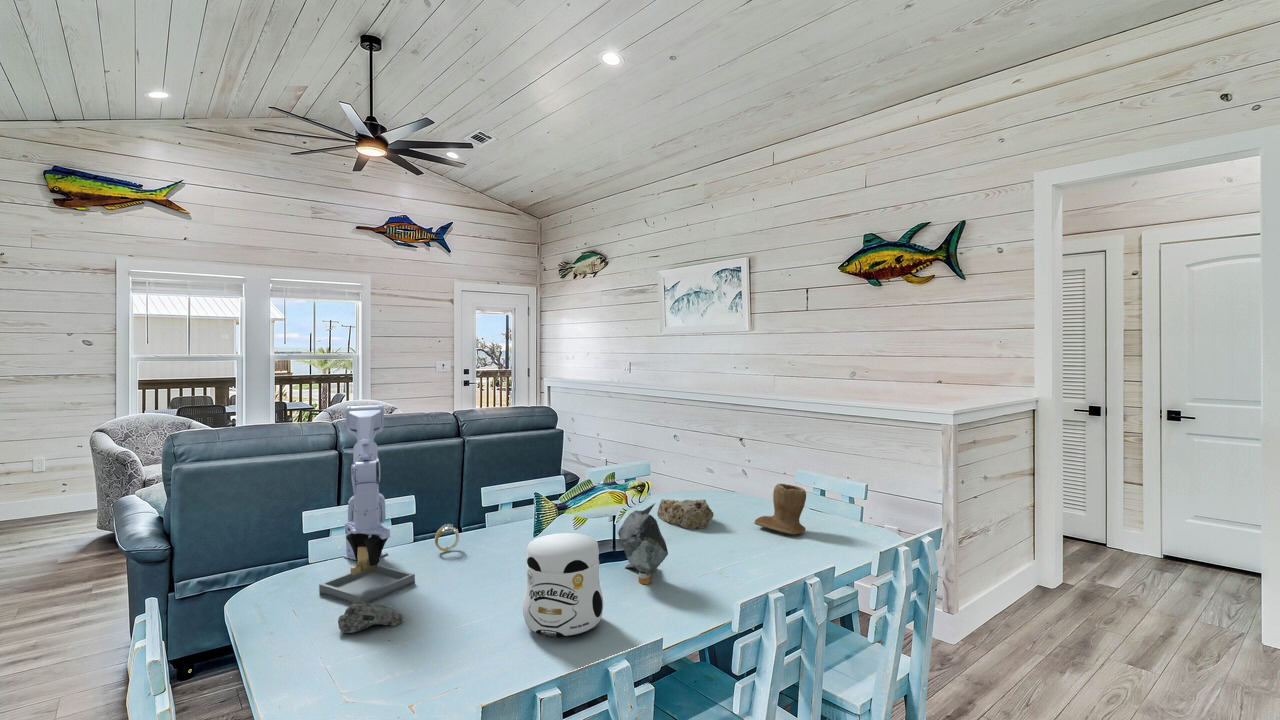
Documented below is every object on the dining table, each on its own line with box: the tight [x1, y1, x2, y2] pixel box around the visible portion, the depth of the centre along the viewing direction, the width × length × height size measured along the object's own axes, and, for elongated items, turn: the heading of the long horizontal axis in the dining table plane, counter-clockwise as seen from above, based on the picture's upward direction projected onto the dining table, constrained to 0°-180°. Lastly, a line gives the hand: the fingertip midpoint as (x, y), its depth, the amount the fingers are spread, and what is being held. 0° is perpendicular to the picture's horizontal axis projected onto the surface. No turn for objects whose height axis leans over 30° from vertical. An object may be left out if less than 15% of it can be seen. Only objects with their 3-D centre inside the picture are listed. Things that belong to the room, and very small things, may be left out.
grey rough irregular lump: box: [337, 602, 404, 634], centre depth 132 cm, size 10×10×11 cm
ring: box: [434, 523, 460, 552], centre depth 178 cm, size 7×3×8 cm, turn 121°
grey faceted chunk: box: [617, 502, 669, 586], centre depth 157 cm, size 14×15×18 cm
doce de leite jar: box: [522, 532, 604, 639], centre depth 131 cm, size 17×17×18 cm
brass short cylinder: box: [350, 543, 379, 575], centre depth 151 cm, size 7×5×6 cm
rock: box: [656, 499, 714, 530], centre depth 207 cm, size 20×14×10 cm
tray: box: [318, 564, 416, 605], centre depth 152 cm, size 16×16×2 cm
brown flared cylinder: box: [753, 483, 807, 535], centre depth 197 cm, size 15×12×15 cm
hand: (367, 562), depth 151 cm, fingers closed on brass short cylinder, 5 cm apart
